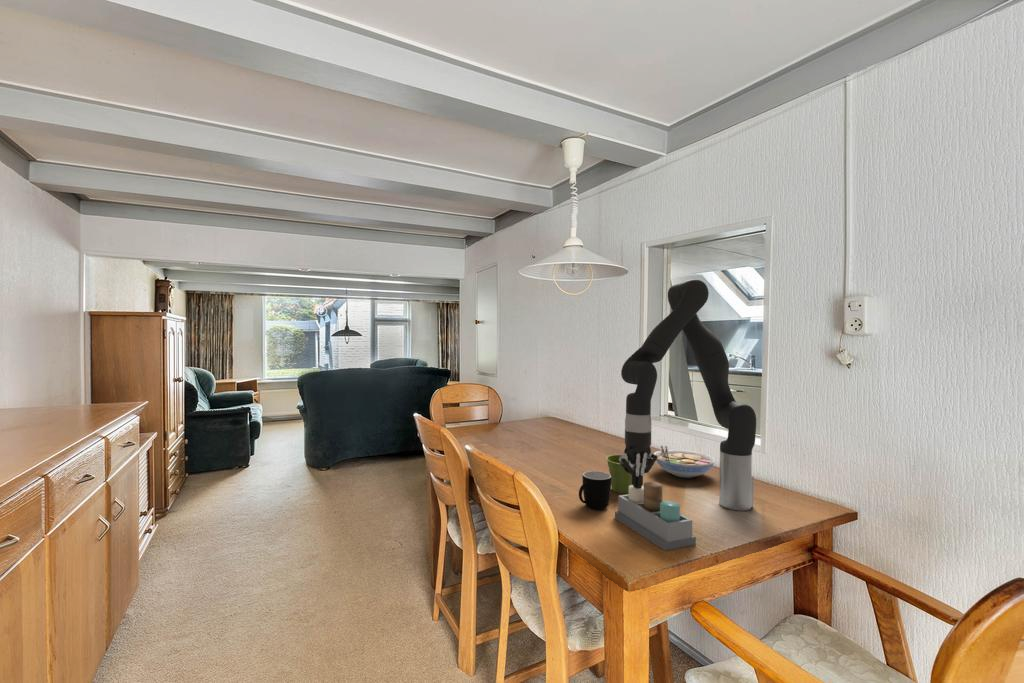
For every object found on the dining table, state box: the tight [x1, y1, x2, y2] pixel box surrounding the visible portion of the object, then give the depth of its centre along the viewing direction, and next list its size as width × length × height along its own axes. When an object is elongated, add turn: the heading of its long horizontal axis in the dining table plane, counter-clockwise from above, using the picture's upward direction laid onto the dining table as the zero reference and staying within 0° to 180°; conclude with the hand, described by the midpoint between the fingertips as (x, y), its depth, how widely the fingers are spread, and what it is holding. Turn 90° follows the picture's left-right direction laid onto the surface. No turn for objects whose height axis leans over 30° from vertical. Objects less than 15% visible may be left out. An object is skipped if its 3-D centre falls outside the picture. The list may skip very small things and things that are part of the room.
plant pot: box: [605, 454, 632, 495], centre depth 158 cm, size 12×12×11 cm
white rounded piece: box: [629, 485, 644, 504], centre depth 133 cm, size 5×5×6 cm
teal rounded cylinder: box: [660, 500, 681, 523], centre depth 119 cm, size 5×5×6 cm
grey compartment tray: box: [614, 493, 697, 552], centre depth 126 cm, size 10×22×6 cm, turn 21°
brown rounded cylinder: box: [643, 481, 664, 512], centre depth 126 cm, size 5×5×6 cm
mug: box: [578, 470, 612, 511], centre depth 142 cm, size 12×9×10 cm
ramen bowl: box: [653, 445, 716, 479], centre depth 176 cm, size 25×23×8 cm
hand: (637, 487), depth 133 cm, fingers closed
